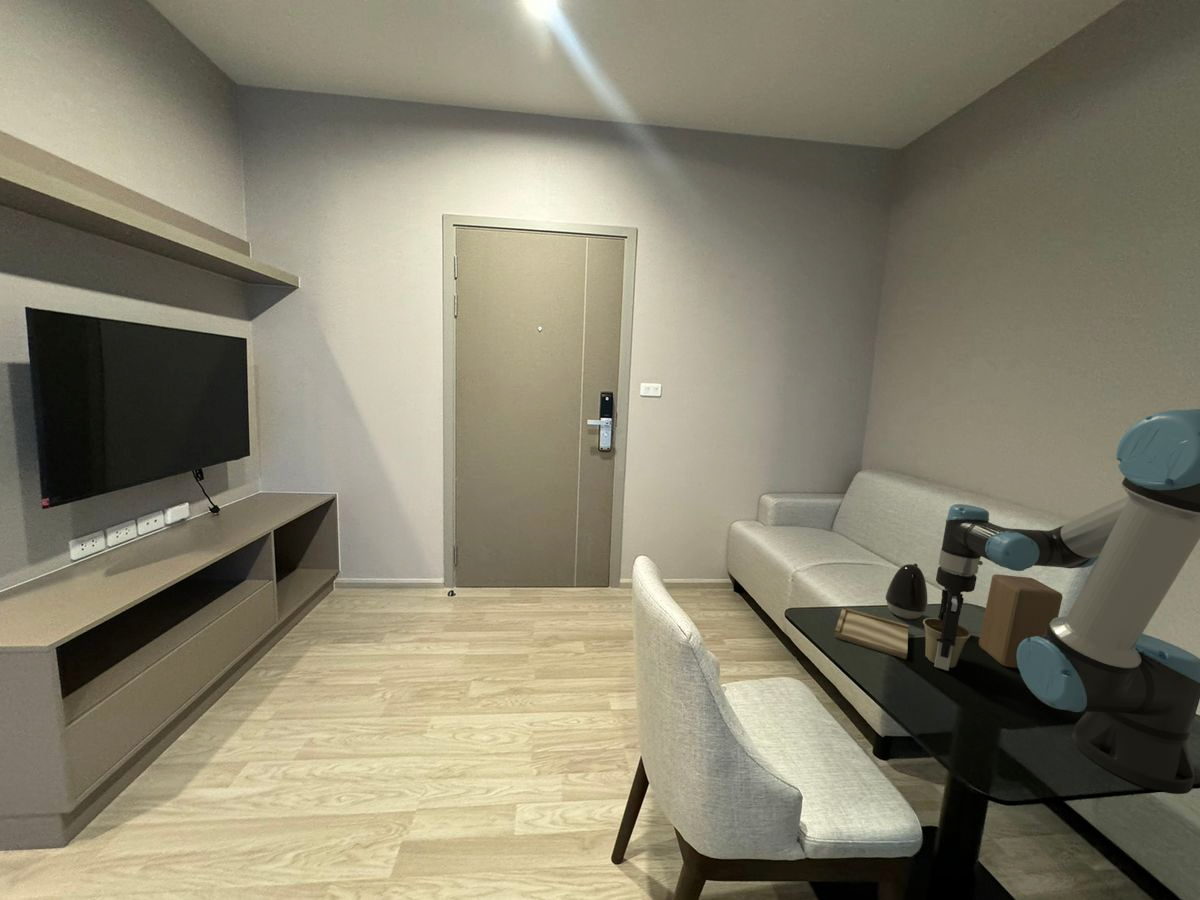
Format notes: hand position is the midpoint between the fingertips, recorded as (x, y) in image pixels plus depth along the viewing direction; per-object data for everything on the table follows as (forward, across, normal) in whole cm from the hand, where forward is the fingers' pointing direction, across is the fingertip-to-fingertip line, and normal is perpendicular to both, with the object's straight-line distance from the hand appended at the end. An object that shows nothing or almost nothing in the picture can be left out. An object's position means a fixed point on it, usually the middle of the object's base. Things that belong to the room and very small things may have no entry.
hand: (940, 659), depth 120 cm
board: (0, +3, +15) cm, 15 cm away
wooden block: (+1, +13, -15) cm, 20 cm away
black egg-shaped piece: (+1, +23, +8) cm, 24 cm away
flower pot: (+1, 0, 0) cm, 1 cm away
